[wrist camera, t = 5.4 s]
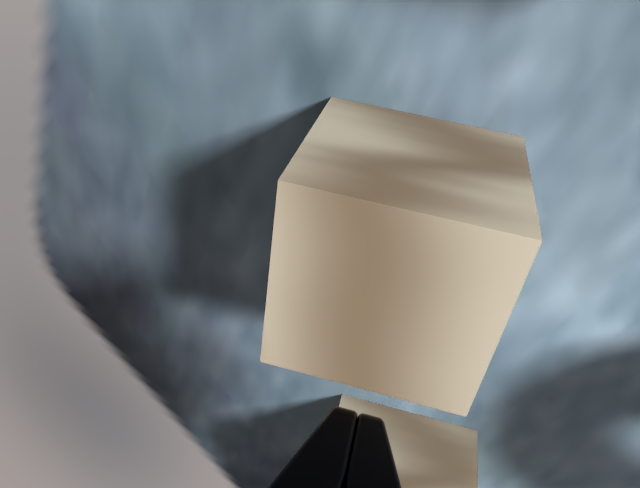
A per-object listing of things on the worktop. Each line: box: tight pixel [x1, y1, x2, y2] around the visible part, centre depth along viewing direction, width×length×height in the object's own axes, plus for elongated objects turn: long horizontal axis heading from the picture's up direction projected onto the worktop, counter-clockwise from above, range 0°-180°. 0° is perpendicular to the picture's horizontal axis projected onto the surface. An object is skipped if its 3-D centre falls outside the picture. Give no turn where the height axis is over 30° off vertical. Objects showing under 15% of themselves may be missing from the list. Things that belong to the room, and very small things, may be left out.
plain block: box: [260, 97, 542, 417], centre depth 14 cm, size 5×5×5 cm
